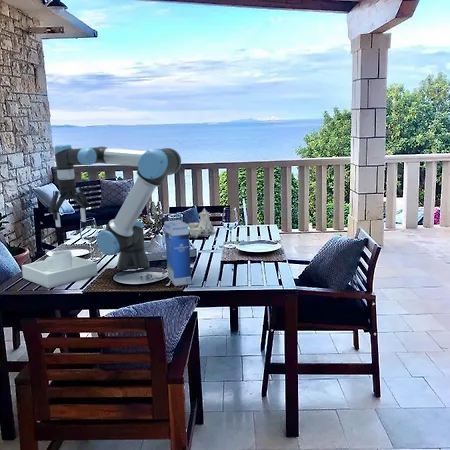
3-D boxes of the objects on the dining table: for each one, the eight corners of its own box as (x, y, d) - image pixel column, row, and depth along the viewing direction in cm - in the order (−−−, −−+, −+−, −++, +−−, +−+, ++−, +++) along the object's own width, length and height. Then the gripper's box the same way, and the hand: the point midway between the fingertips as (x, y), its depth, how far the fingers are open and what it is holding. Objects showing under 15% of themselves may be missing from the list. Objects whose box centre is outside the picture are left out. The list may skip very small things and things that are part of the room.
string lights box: (191, 284, 209) (189, 224, 204) (174, 286, 206) (171, 226, 202) (183, 275, 221) (180, 219, 216) (166, 278, 219) (163, 221, 214)
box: (97, 275, 227) (96, 262, 226) (48, 288, 210) (47, 274, 208) (70, 266, 243) (69, 254, 242) (23, 278, 226) (21, 265, 225)
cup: (73, 275, 223) (71, 254, 221) (45, 278, 220) (42, 256, 218) (73, 270, 231) (71, 249, 229) (46, 273, 228) (44, 252, 226)
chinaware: (185, 233, 321) (182, 208, 317) (210, 228, 323) (207, 204, 320) (190, 242, 294) (186, 215, 290) (218, 237, 296) (214, 210, 293)
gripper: (84, 175, 238) (89, 219, 242) (36, 181, 219) (42, 228, 223) (93, 176, 233) (98, 220, 237) (46, 181, 214) (51, 229, 218)
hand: (71, 224), depth 230 cm, fingers open, 13 cm apart
